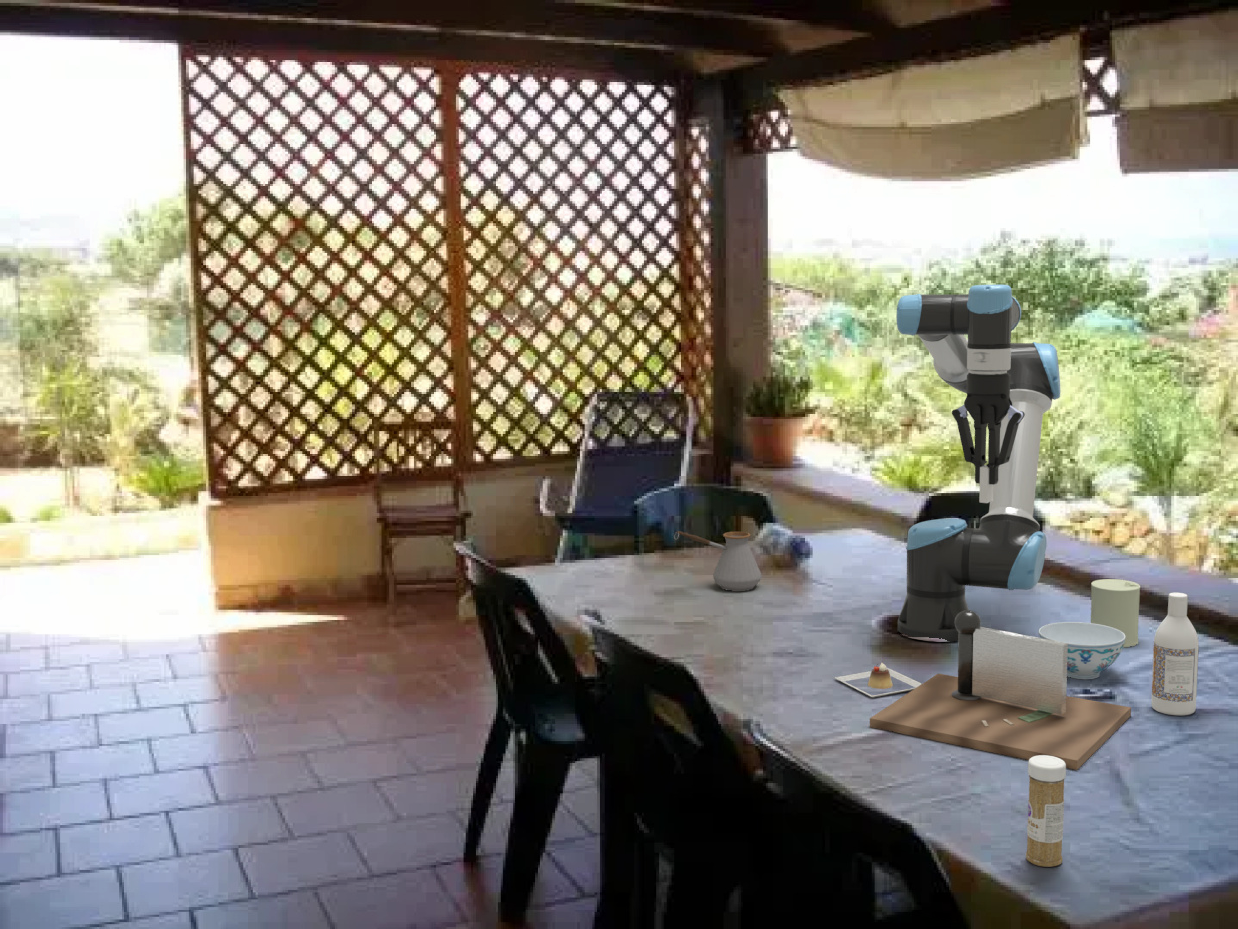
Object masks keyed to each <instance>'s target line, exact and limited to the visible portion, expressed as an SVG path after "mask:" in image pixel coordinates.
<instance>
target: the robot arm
mask: <svg viewBox="0 0 1238 929" xmlns="http://www.w3.org/2000/svg"><path fill="white" fill-rule="evenodd" d="M1012 294H1013V292H1012V288H1011V286H1010V285H1008V284H978V285H977V284H976V285H972V286H971V287H969V289H968V293H966V294H965V293H963V294H961V293H959V294H922V293H921V294H920V293H917V294H908V295H907V294H906V295H903V296H901V297H900V298H899V300H898V303H897V306H896V327H897V331H899V332H898V333H900V334H902V335H905V336H918V337H919V339H920V341H921V343H923V345H924V346H925V348H926V350H927V351H928V352H929V354H930V355H931V357H932V358H933V361H932V362H933V367H934V370H935V372H936V374H937V375H938V376H939V378H940V379H941V380H942V381H943V382H945V383H946V384H947V385H949V386H950V387H952V388H954V389H956V390H957V391H959V392H962V393H964V394H966V396H965V399H964V402H963V405H961V406H960V407H958V408H954V409H953V410H952V411H951V415H952V416H953V418H954V420H955V422H956V425H957V428H958V429H957V430H958V434H959V438H960V443H961V448H962V454H963V456H964V460H965V462H966V463H970V464H973V466H974V468H975V469H974V471H975V472H974V482H975V484H979V499H978V500H979V503H982V504H989V507H988V508H989V509H988V513H986V514H985V515H983V516H982V517H980V519H979V527H978V528H976V527H975V528H974V527H973V528H972V527H968V524H967V522H966V520H965V519H963V518H962V519H961V518H949V517H948V518H938V519H931V520H930V519H929V520H925V521H921V522H918V523H915V524H913V525H911V527H910V528H909V529H908V532H907V542H906V543H907V544H906V546H905V550H906V595H905V599H904V601H903V604H902V607H901V610H900V613H899V616H898V619H897V632H898V631H899V632H901V633H903V634H905V635H908V636H912V637H929V638H939V639H941V638H942V639H945V640H947V641H950V642H949V643H953V642H954V641H955V642H958V634H959V632H958V631H957V629H956V628H955V623H954V622H955V618H956V616H957V614H958V613H960V612H961V611H964V610H970V608H969V606H968V602H967V599H966V587H968V586H969V587H979V588H991V589H1003V590H1009V591H1014V590H1024V591H1025V590H1031V589H1033V588H1035V586H1037V584H1038V582H1039V581H1040V578H1041V575H1042V571H1043V569H1044V563H1045V559H1046V550H1047V535H1046V533H1044V532H1042V531H1040V529H1041V527H1040V526H1041V525H1040V523H1039V522H1038V521H1037V520H1036V519H1035V518H1034V508H1035V499H1036V488H1037V476H1038V467H1039V459H1040V458H1039V457H1040V446H1041V439H1042V428H1043V427H1042V426H1043V417H1044V416H1043V415H1044V414H1045V413H1046V412H1048V411H1049V410H1050V409H1051V407H1052V404H1053V400H1058V399H1060V398H1061V378H1060V377H1061V376H1060V366H1059V365H1060V364H1059V357H1058V351H1057V348H1056V346H1054V345H1053V344H1050V343H1042V342H1041V343H1040V342H1035V341H1033V342H1027V343H1026V342H1025V343H1024V342H1017V343H1016V342H1011V340H1012V331H1013V330H1015V328H1016V327H1017V326H1018V325H1019V322H1020V320H1021V318H1022V308H1021V304H1020V303H1019V301H1018V299H1016V298H1015V297H1014V296H1013V295H1012ZM965 335H966V336H967V338H966V336H965ZM969 415H970V417H971V419H972V420H973V428H974V440H973V436H972V435H973V434H972V430H971V427H970V421H969V418H968V416H969ZM987 430H988V440H987ZM987 441H988V443H987ZM987 446H988V447H987ZM987 450H988V452H987ZM987 454H988V456H987ZM986 456H987V457H986ZM986 459H987V460H986ZM951 641H953V642H951Z"/></svg>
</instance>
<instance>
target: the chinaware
mask: <svg viewBox="0 0 1238 929" xmlns="http://www.w3.org/2000/svg"><path fill="white" fill-rule="evenodd" d="M1038 636H1039V637H1038V638H1043V639H1048V640H1054V641H1059V642H1064V643H1068V655H1067V676H1068V677H1067V678H1070V677H1071V679H1076V680H1077V679H1078V680H1092V679H1093V680H1094V679H1097V678H1099V677H1100V676H1101V672H1102V671H1105V670H1107V669H1108V668H1109V667H1110V666H1112V664H1114V663H1116V662H1115V661H1117V659H1118V658H1119V656H1120V654H1121V653H1122V651H1123V648H1124V647H1123V646H1124V642H1125V634H1124V633H1123V632H1121V631H1120V630H1117V629H1115V628H1112V627H1109V626H1105V625H1100V624H1093V623H1091V622H1081V621H1063V622H1062V621H1060V622H1053V623H1048V624H1045V625H1043V626H1041V627H1040V628H1039V629H1038Z"/></svg>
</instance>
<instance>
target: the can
mask: <svg viewBox="0 0 1238 929" xmlns="http://www.w3.org/2000/svg"><path fill="white" fill-rule="evenodd" d="M1090 589H1091V591H1090V592H1091V594H1090V595H1091V596H1090V597H1091V598H1090V604H1091V606H1090V623H1093V624H1100V625H1105V626H1109V627H1112V628H1115V629H1117V630H1120V631H1121V632H1123V633H1124V634H1125V642H1124V646H1123V648H1130V646H1132V647H1135V646H1137V645H1138V644H1139V617H1140V616H1139V614H1140V613H1139V612H1140V611H1139V610H1140V595H1141V593H1140V592H1141V591H1140V590H1141V585H1140V584H1139V583H1137V582H1134V581H1131V580H1125V579H1116V578H1108V579H1107V578H1106V579H1096V580H1092V582H1091V588H1090ZM1136 644H1137V645H1136Z"/></svg>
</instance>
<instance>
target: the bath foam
mask: <svg viewBox="0 0 1238 929" xmlns="http://www.w3.org/2000/svg"><path fill="white" fill-rule="evenodd" d="M1188 599H1189V598H1188V594H1186V593H1183V592H1170V593H1168V600H1167V602H1168V606H1167V615H1166V617H1165V618H1164V619H1163V620H1162V621H1161V623H1160V624H1159V625H1158V626H1157V628H1156V631H1155V634H1154V637H1153V648H1152V650H1153V651H1152V652H1153V653H1152V673H1151V674H1152V675H1151V677H1152V678H1151V702H1150V703H1151V708H1152V709H1153V710H1155V711H1156V712H1159V713H1160V714H1164V715H1169V716H1189V715H1192V714H1194V713H1195V712H1196V708H1197V695H1198V693H1197V692H1198V676H1199V675H1198V673H1199V672H1198V670H1199V652H1200V650H1199V649H1200V645H1199V636H1198V633H1197V631H1196V628H1195V627H1194V625H1193V624H1192V621H1191V620H1190V619H1189V617H1188V616H1187V615H1188Z"/></svg>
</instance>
